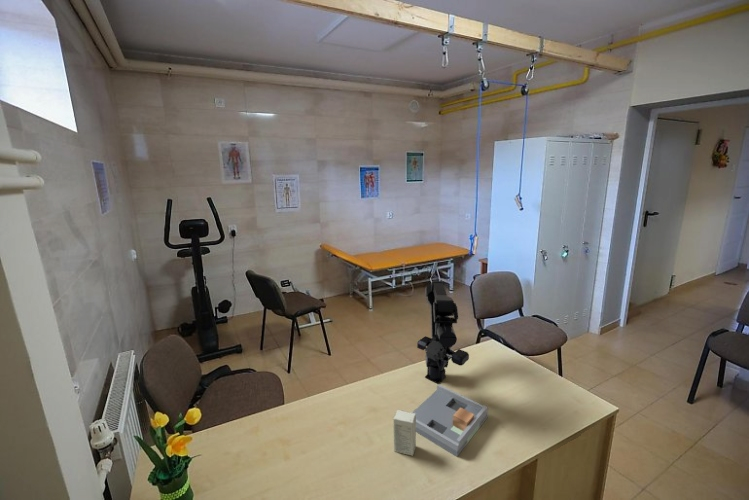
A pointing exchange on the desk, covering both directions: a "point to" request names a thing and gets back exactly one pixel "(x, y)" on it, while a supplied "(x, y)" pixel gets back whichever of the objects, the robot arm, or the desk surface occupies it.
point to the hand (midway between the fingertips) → (441, 370)
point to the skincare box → (404, 432)
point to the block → (462, 419)
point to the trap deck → (448, 419)
